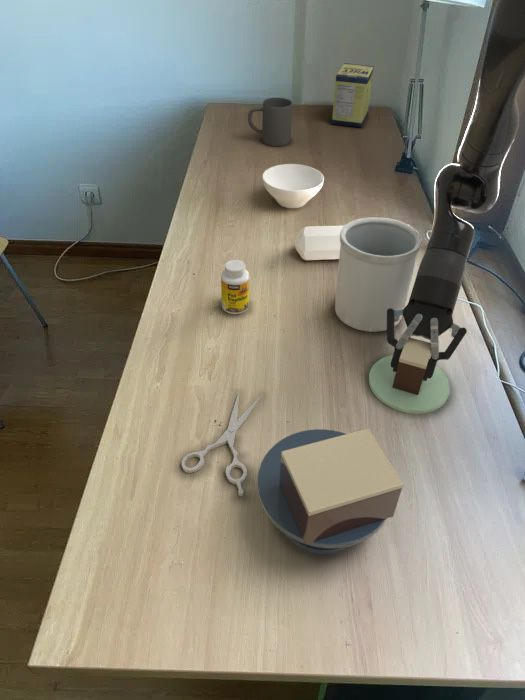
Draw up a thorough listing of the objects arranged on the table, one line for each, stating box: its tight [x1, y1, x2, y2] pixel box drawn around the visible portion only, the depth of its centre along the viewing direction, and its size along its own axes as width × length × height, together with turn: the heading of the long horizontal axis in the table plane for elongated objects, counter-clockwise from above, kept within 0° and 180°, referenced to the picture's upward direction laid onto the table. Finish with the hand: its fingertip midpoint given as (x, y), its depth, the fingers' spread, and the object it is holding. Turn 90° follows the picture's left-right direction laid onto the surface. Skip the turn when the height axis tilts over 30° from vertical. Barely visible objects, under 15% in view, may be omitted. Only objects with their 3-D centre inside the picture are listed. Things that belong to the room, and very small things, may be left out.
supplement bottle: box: [220, 259, 250, 315], centre depth 112 cm, size 6×6×10 cm
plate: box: [368, 354, 451, 415], centre depth 99 cm, size 14×14×1 cm
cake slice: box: [392, 337, 431, 395], centre depth 97 cm, size 4×6×7 cm
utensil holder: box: [334, 217, 423, 333], centre depth 109 cm, size 15×15×18 cm
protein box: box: [331, 62, 375, 128], centre depth 191 cm, size 10×16×16 cm
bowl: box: [261, 163, 325, 209], centre depth 147 cm, size 16×16×7 cm
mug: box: [247, 97, 293, 147], centre depth 176 cm, size 14×9×12 cm
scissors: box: [181, 391, 262, 497], centre depth 89 cm, size 11×1×20 cm
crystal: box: [294, 224, 346, 261], centre depth 129 cm, size 7×7×24 cm
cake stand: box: [257, 428, 404, 555], centre depth 75 cm, size 18×18×15 cm
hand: (409, 375), depth 96 cm, fingers closed on cake slice, 4 cm apart
